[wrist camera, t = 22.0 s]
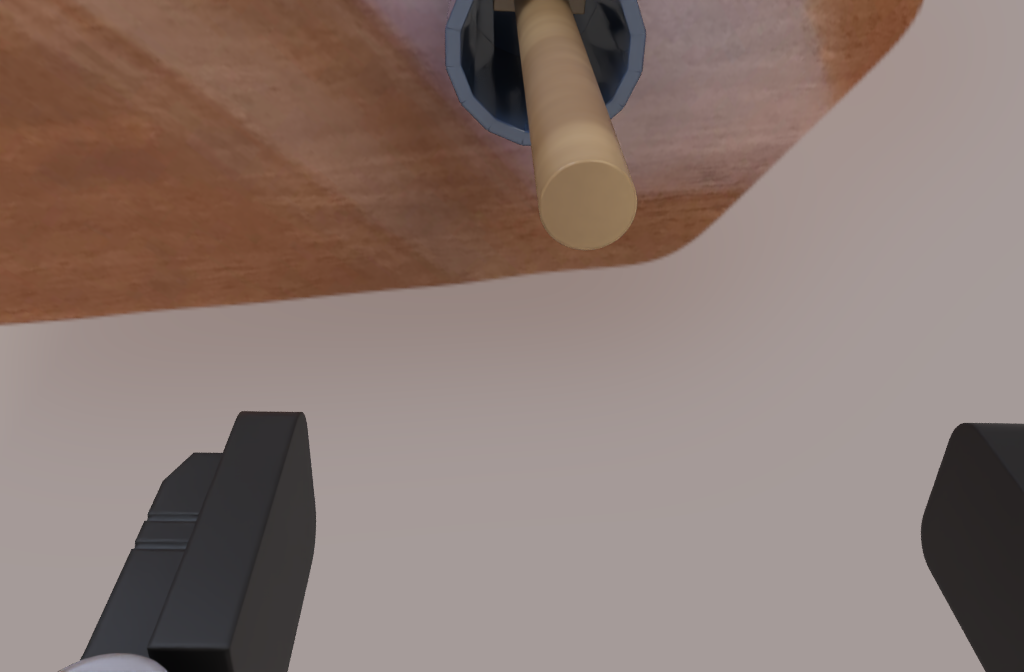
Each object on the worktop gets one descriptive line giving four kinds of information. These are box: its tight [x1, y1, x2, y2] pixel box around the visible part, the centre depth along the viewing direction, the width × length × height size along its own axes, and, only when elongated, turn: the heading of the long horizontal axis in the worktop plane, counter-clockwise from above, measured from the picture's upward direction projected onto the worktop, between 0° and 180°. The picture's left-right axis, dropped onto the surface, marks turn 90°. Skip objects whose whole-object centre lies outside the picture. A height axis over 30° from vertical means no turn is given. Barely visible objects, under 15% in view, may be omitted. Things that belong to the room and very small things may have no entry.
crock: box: [445, 0, 646, 146], centre depth 33 cm, size 6×6×10 cm
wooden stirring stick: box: [493, 0, 637, 250], centre depth 27 cm, size 3×2×23 cm, turn 88°
